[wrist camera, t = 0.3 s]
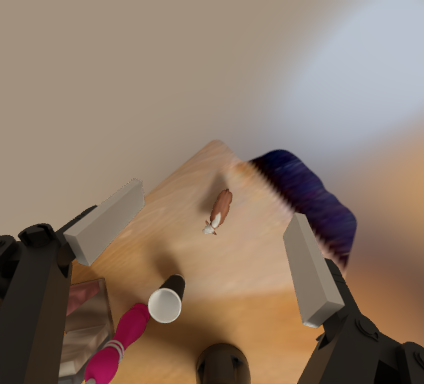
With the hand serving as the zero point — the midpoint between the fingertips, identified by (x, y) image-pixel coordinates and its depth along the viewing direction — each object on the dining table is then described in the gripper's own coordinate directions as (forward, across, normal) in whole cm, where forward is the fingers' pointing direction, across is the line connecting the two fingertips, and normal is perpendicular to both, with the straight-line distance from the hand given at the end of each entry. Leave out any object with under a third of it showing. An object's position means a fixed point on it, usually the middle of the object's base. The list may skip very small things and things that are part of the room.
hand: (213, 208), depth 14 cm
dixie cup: (+14, +8, +42) cm, 45 cm away
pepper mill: (+7, +17, +51) cm, 55 cm away
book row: (+5, +33, +54) cm, 64 cm away
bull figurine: (+28, 0, +22) cm, 36 cm away
